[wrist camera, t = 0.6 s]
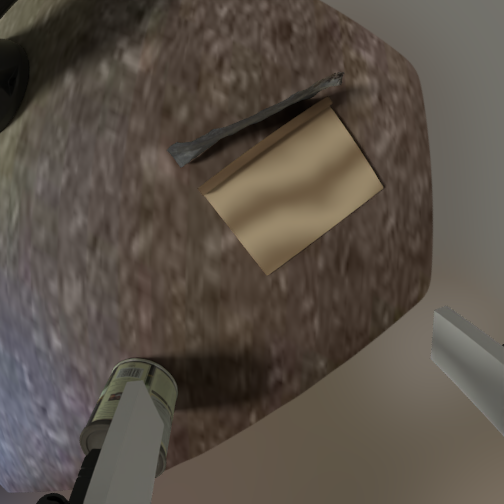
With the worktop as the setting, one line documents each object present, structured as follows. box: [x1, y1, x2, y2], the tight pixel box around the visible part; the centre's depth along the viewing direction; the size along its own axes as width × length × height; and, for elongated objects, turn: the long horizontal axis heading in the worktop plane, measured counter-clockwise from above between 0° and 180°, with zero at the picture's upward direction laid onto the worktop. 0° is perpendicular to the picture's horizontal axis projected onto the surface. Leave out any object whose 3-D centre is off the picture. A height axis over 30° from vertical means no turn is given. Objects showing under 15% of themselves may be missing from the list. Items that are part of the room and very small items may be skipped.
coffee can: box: [80, 358, 178, 478], centre depth 36 cm, size 10×10×14 cm
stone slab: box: [167, 72, 344, 167], centre depth 30 cm, size 18×2×10 cm, turn 118°
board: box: [198, 96, 383, 276], centre depth 36 cm, size 13×18×2 cm
